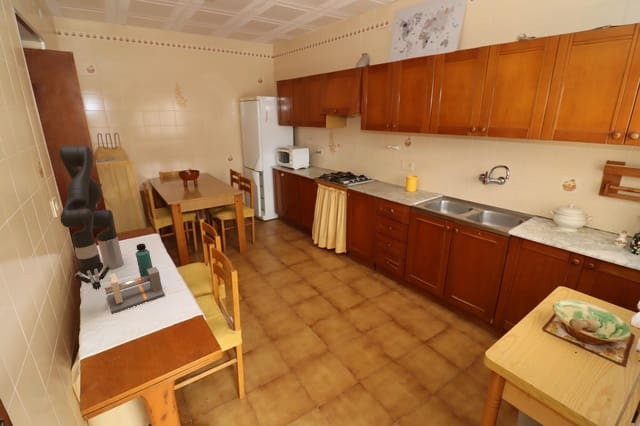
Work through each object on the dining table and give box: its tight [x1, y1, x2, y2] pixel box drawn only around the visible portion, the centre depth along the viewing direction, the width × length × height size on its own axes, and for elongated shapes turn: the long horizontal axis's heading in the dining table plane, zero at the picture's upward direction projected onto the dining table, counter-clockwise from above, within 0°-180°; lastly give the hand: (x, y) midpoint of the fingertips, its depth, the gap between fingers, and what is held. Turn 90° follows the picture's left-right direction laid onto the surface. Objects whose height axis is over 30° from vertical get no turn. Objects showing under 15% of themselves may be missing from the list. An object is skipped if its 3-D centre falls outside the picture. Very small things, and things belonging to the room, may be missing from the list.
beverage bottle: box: [135, 243, 154, 277], centre depth 159 cm, size 6×7×20 cm
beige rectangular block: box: [108, 273, 123, 303], centre depth 140 cm, size 9×2×11 cm, turn 39°
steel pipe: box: [104, 275, 150, 296], centre depth 143 cm, size 3×19×3 cm, turn 130°
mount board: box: [106, 266, 166, 315], centre depth 145 cm, size 15×22×12 cm
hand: (97, 288), depth 135 cm, fingers closed
